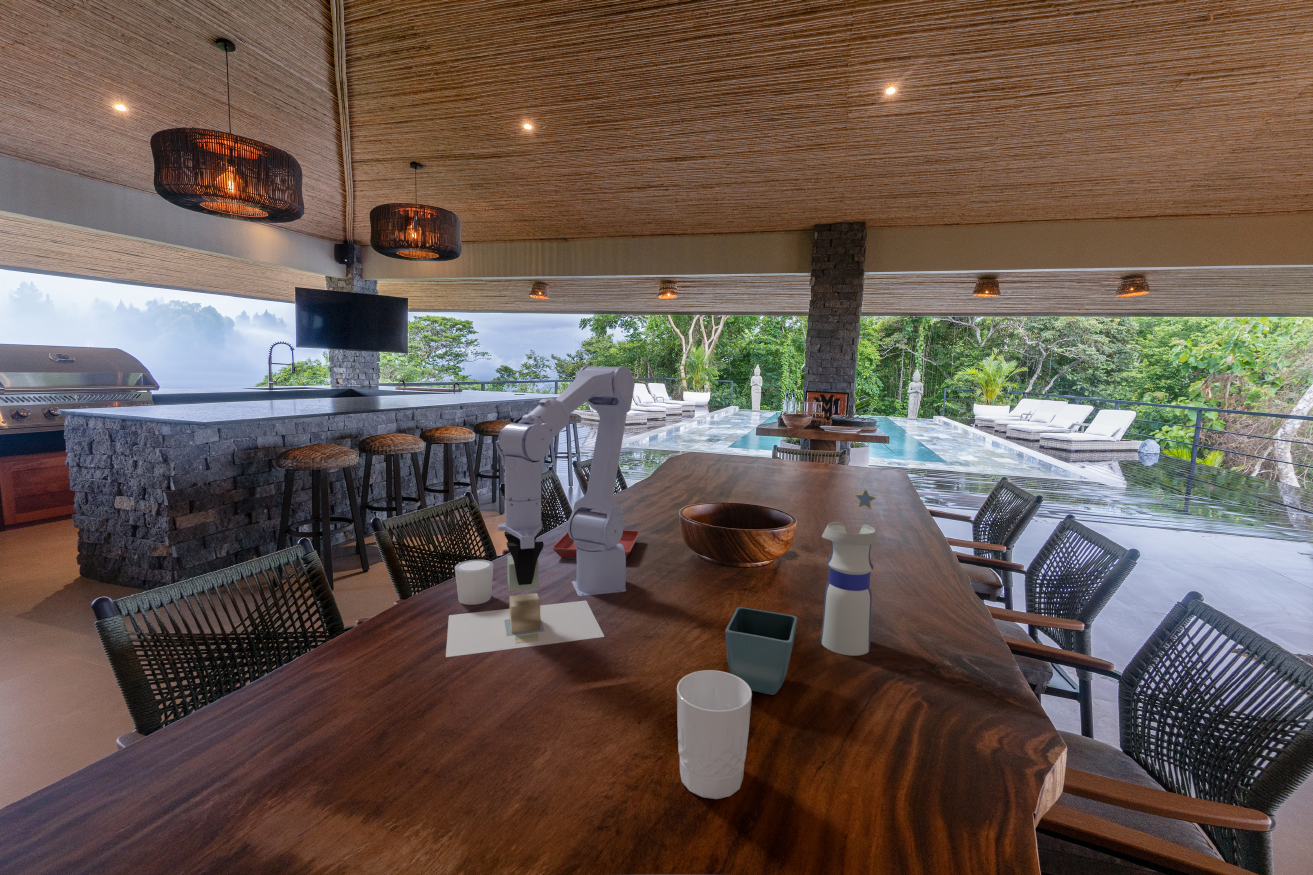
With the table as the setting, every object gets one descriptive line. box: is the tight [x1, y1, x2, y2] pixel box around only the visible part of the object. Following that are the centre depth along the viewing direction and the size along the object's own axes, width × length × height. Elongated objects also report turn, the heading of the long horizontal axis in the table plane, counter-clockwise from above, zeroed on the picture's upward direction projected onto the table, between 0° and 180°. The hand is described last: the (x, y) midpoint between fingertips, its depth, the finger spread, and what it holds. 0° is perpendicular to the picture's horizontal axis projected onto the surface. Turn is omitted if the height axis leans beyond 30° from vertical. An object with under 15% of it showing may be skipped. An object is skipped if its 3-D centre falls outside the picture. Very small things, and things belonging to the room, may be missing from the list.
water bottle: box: [820, 489, 880, 657], centre depth 91 cm, size 8×9×25 cm
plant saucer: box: [552, 529, 641, 560], centre depth 137 cm, size 18×18×3 cm
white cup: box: [676, 669, 753, 800], centre depth 61 cm, size 8×8×10 cm
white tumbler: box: [454, 559, 495, 606], centre depth 105 cm, size 7×7×7 cm
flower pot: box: [725, 606, 798, 696], centre depth 79 cm, size 9×9×9 cm
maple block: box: [509, 592, 541, 633], centre depth 95 cm, size 5×5×4 cm
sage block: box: [506, 554, 540, 592], centre depth 94 cm, size 5×5×4 cm
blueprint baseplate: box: [445, 600, 605, 658], centre depth 95 cm, size 24×15×1 cm, turn 108°
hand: (523, 578), depth 94 cm, fingers closed on sage block, 5 cm apart
